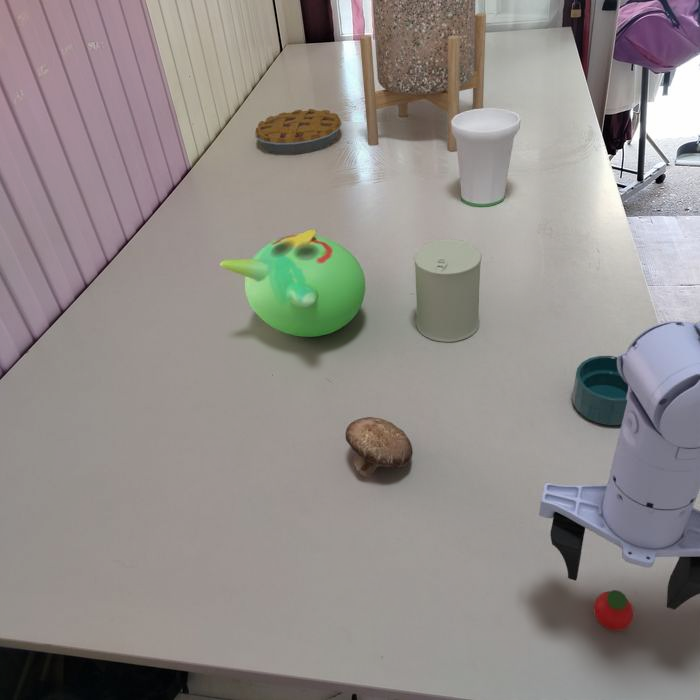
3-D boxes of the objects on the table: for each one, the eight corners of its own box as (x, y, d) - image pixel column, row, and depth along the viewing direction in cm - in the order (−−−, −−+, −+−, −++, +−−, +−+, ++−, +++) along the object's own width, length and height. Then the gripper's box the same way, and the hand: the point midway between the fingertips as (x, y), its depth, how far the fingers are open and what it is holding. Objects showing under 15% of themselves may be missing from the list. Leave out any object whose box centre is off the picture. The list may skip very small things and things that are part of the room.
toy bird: (387, 310, 98) (381, 224, 89) (327, 374, 87) (312, 284, 78) (294, 284, 106) (279, 203, 97) (228, 340, 96) (205, 256, 87)
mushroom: (342, 480, 68) (361, 427, 67) (329, 451, 76) (346, 403, 75) (408, 496, 70) (428, 444, 69) (389, 466, 78) (406, 419, 77)
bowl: (643, 390, 79) (650, 362, 76) (639, 434, 74) (646, 406, 71) (576, 377, 82) (581, 350, 79) (567, 419, 76) (571, 392, 74)
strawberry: (631, 609, 57) (638, 588, 55) (628, 642, 55) (635, 621, 53) (594, 598, 59) (599, 577, 56) (589, 630, 56) (595, 609, 54)
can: (407, 336, 92) (404, 265, 85) (426, 301, 99) (425, 232, 91) (470, 347, 89) (472, 274, 81) (485, 310, 95) (489, 239, 88)
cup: (485, 178, 132) (488, 103, 122) (529, 197, 123) (535, 118, 113) (437, 197, 127) (437, 120, 117) (479, 218, 118) (482, 137, 109)
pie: (341, 152, 150) (339, 131, 147) (251, 160, 152) (246, 140, 149) (344, 121, 167) (342, 101, 164) (263, 128, 169) (259, 109, 166)
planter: (457, 152, 144) (457, -9, 124) (366, 146, 153) (352, -5, 133) (484, 118, 159) (488, -30, 139) (400, 114, 168) (392, -25, 148)
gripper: (539, 494, 45) (524, 597, 53) (777, 553, 39) (719, 658, 48) (555, 425, 50) (539, 530, 58) (769, 470, 44) (717, 578, 53)
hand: (621, 583), depth 53 cm, fingers open, 7 cm apart
